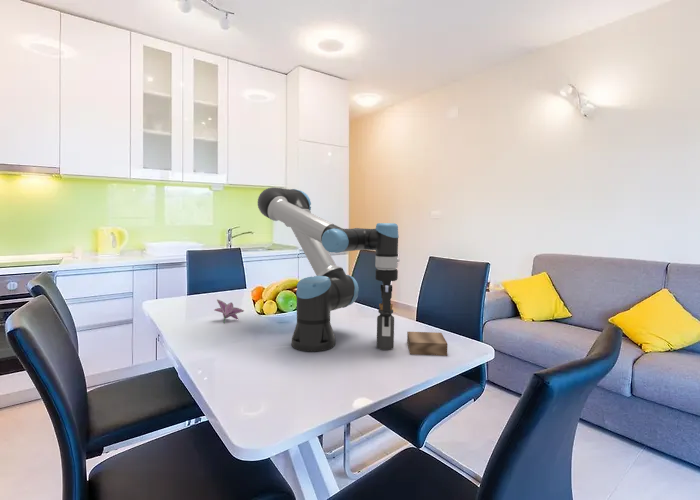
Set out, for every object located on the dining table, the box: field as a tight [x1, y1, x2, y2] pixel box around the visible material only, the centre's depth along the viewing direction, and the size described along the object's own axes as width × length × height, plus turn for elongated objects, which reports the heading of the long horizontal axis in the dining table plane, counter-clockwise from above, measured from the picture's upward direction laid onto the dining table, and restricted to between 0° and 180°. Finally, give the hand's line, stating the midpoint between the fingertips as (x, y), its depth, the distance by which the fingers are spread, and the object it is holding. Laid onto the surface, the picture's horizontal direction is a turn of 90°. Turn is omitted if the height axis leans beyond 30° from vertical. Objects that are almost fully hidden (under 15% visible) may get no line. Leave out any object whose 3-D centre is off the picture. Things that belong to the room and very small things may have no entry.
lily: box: [214, 299, 245, 323], centre depth 158 cm, size 12×12×10 cm
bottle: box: [376, 302, 395, 351], centre depth 128 cm, size 6×6×15 cm
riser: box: [406, 331, 448, 356], centre depth 128 cm, size 12×12×4 cm
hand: (385, 330), depth 128 cm, fingers open, 13 cm apart
